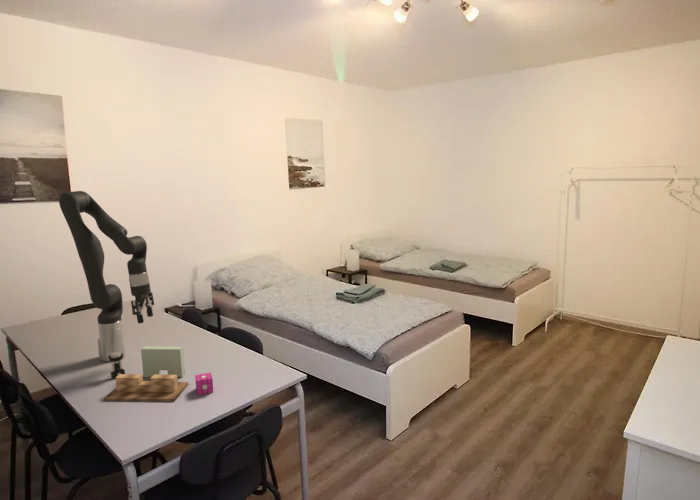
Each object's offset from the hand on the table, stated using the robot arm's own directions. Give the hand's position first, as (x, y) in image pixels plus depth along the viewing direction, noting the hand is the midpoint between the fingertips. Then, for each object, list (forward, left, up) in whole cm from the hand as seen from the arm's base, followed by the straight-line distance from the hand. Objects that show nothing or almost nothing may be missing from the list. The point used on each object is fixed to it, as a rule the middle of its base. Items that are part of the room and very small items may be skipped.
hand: (145, 319), depth 189 cm
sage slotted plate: (+12, -12, -20) cm, 26 cm away
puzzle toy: (+33, -24, -20) cm, 46 cm away
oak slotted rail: (+12, -26, -20) cm, 35 cm away
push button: (-7, -14, -20) cm, 25 cm away
